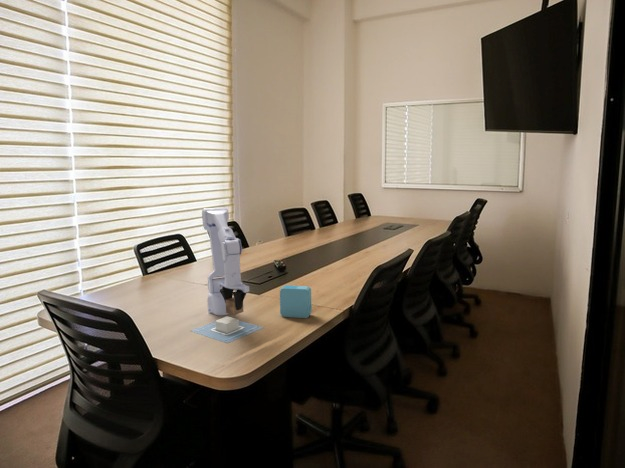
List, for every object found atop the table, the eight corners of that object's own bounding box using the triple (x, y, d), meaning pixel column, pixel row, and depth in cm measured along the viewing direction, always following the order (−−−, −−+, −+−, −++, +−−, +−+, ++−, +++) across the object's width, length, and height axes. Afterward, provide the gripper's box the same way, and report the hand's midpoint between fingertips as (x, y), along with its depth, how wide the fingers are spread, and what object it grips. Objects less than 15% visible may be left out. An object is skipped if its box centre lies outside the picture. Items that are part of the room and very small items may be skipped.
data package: (311, 314, 182) (311, 286, 180) (309, 318, 178) (308, 289, 176) (283, 313, 184) (282, 285, 182) (280, 316, 180) (279, 288, 178)
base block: (215, 329, 164) (215, 320, 163) (227, 325, 169) (227, 316, 168) (226, 333, 160) (226, 324, 160) (238, 328, 165) (238, 319, 165)
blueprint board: (190, 333, 164) (190, 330, 163) (227, 319, 178) (226, 316, 178) (227, 346, 152) (227, 342, 152) (264, 329, 166) (263, 326, 166)
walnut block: (226, 312, 165) (225, 299, 164) (235, 309, 169) (234, 296, 168) (234, 315, 162) (234, 301, 162) (243, 311, 166) (242, 298, 165)
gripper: (254, 272, 162) (256, 308, 164) (226, 267, 170) (228, 302, 173) (240, 276, 156) (242, 314, 158) (212, 271, 165) (214, 306, 167)
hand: (234, 308), depth 165 cm, fingers closed on walnut block, 4 cm apart
